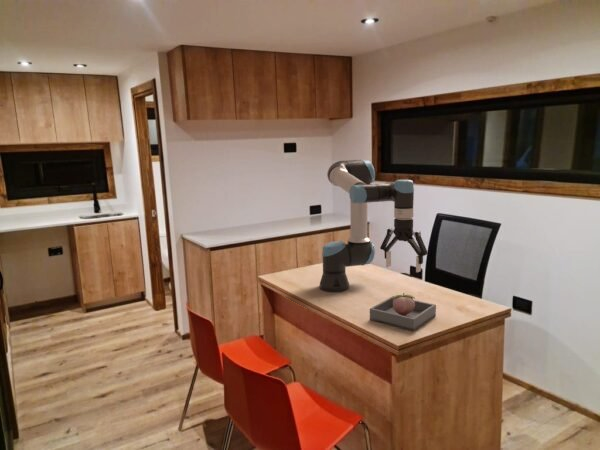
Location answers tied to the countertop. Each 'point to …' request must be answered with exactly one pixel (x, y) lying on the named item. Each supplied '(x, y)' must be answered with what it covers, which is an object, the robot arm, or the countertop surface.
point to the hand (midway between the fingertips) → (403, 269)
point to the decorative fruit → (403, 304)
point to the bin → (409, 322)
